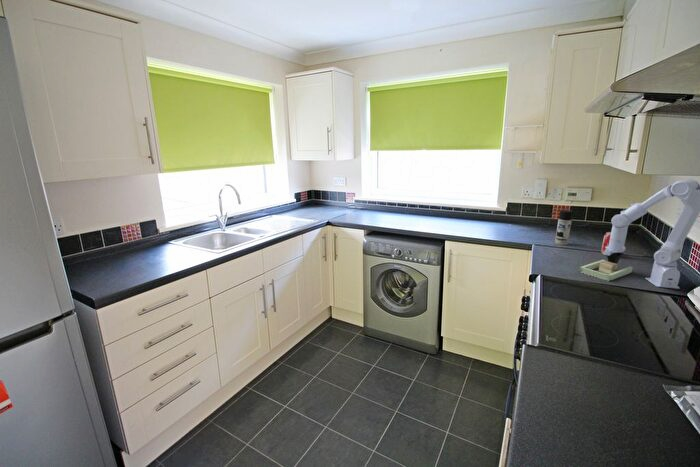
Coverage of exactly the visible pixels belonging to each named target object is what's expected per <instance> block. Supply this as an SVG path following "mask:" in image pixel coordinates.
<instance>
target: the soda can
mask: <svg viewBox="0 0 700 467" xmlns="http://www.w3.org/2000/svg"><path fill="white" fill-rule="evenodd" d="M610 235H611V231H608V232H607V231H606V233H605V234H604V235H603V240H602V245H601V252H600V253H601V254H602V255H603V256H605V257H607V255H605V251H606V250H607V249H606V248H605V247H606V246H609V241H610Z"/></svg>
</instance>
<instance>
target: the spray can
mask: <svg viewBox="0 0 700 467" xmlns="http://www.w3.org/2000/svg"><path fill="white" fill-rule="evenodd" d="M573 213H574V212H573V210H568V209H561V210H559V213H558V214H559V215H558V221H557V227H556V234H555V238H554V240H555V241H554V243H555V245H559V246H568V244H569V238H570V233H571V227H572V221H573V220H572V219H573Z"/></svg>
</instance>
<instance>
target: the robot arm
mask: <svg viewBox="0 0 700 467" xmlns="http://www.w3.org/2000/svg"><path fill="white" fill-rule="evenodd" d="M672 197H676V198H677V199H679V200H680V201H681V202H682V203H683V205H684V207H683V210H682V211H681V213H680V215H679V217H678V218H677V220H676V222H675V225H673V228H672V230H671V232H670V233H669V236H668V237H667V239H666V241H665V242H664V243H663V244H662V245H661V247H660V249H658V250H657V251H655V252H654V253H653V259H654V261H653V265H652V270H651V274H650V277H645V280H647V281H648V282H649V283H651V285H654V286H655V287H656V288H657V287H658V288H669V289H678V290H679V289H680V286H678V284H679V282H680V278H681V272H680V271H679V269H678V268H677V267H678V262H677V261H678V260H680V258H681V256H682V252H681V251H682V249H683V243H684V242H685V240H686V239H687V237H688V235H689V234H690V233H689V232H690V231H691V229H692V228H693V226H694V224H695V222H696V221H697V219H698V217H699V215H700V183H699V182H698V181H697V180H694V179H690V178H689V179H688V178H687V179H684V180H678V181H675V182H674V183H672V184H670V185H668V186H666V187H664V188H663V189H661V190H659V191H658V192H656V193H655V194H653V195H652V196H651V197H649V198H647V199H646V200H645V201H643V202H636V203H631V204H630V207H628V208H626V209H625V210H621V211H620V214H618V213H617V214H615V215H614V216H613V217H612V218H611V219H610V220H611V221H610V222H611V224H612V227H611V231H610V232H611V235H610V241H609V246H606V247H605V248H606V249H607V250H606V251H605V255H607V256H606V258H607V262H611V263H615V264H617V265H618V263H619V261H620V260H621V258H622V257H624V252H626V246H625V244H626V239H627V234H628V230H629V226H630V225H631V224H632V222H634V221H636V220H638V219H639V218H641V217H643V216H644V215H647V213H648V211H649V209H650V208H651V207H653V206H655V205H657V204H658V203H660V202H662V201H664V200H666V199H668V198H672ZM605 255H604V256H605Z"/></svg>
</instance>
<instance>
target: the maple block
mask: <svg viewBox="0 0 700 467" xmlns="http://www.w3.org/2000/svg"><path fill="white" fill-rule="evenodd" d="M617 269H618V263H617V264H615V263H611V262H608V260H606V261H604V262H601V263H600V265H599V267H598V270H597V271H598V272H601V273H605V274H611V273H613V272H616V271H617Z"/></svg>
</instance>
